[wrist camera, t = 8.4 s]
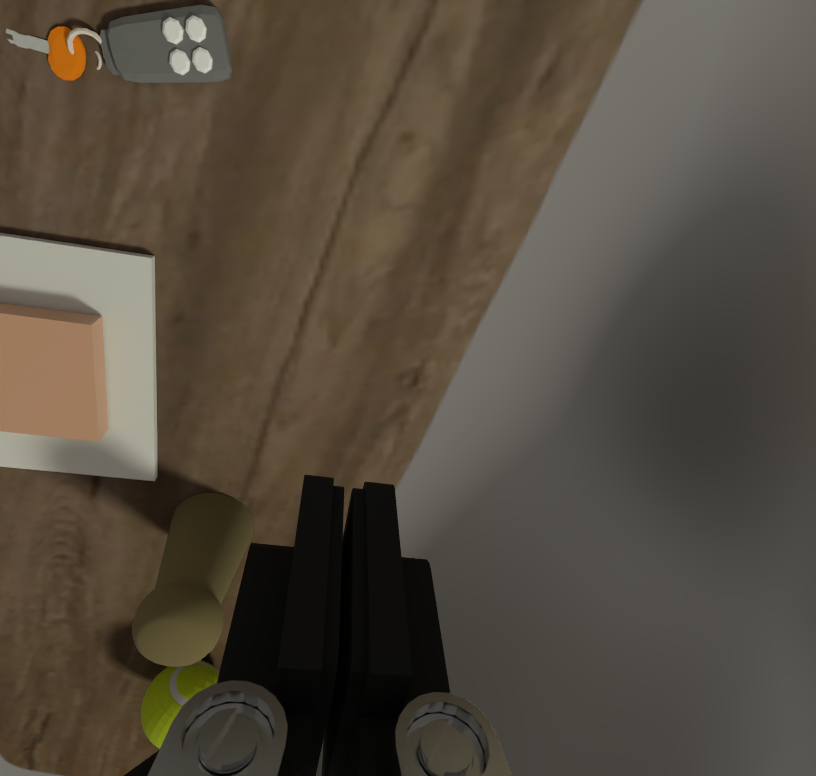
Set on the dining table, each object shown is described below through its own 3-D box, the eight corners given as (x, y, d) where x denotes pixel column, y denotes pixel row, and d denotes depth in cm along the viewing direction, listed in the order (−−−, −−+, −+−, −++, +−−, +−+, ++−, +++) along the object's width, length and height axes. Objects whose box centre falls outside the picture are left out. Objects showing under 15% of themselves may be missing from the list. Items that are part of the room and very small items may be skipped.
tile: (103, 315, 35) (-40, 296, 34) (91, 324, 33) (-60, 305, 32) (109, 427, 38) (-21, 413, 37) (98, 441, 37) (-38, 427, 36)
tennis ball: (246, 653, 50) (231, 728, 44) (220, 701, 52) (202, 778, 46) (169, 633, 48) (142, 708, 42) (146, 683, 50) (117, 761, 44)
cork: (166, 547, 44) (110, 675, 34) (178, 485, 41) (121, 602, 32) (246, 562, 45) (214, 689, 35) (261, 501, 43) (232, 620, 33)
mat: (-66, 222, 33) (-74, 224, 32) (154, 255, 34) (151, 258, 34) (-26, 458, 39) (-31, 463, 39) (157, 476, 41) (154, 481, 40)
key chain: (222, 0, 29) (216, -5, 28) (237, 82, 31) (231, 80, 30) (-36, 20, 29) (-55, 15, 28) (-7, 102, 31) (-24, 101, 29)
